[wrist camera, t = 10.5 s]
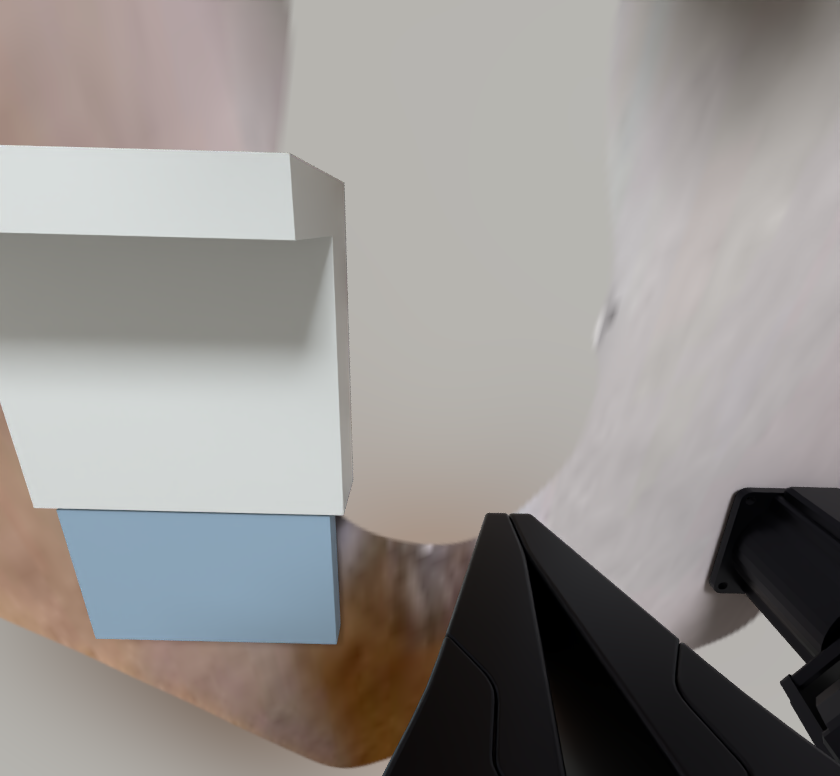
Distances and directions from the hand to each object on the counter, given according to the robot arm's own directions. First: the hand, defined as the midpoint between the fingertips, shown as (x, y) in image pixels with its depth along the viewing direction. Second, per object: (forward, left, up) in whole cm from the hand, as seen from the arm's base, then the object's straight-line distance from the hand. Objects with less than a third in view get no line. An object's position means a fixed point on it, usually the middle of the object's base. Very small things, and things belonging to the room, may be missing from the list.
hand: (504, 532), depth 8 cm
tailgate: (-7, +12, -11) cm, 18 cm away
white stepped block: (0, +12, -13) cm, 18 cm away
